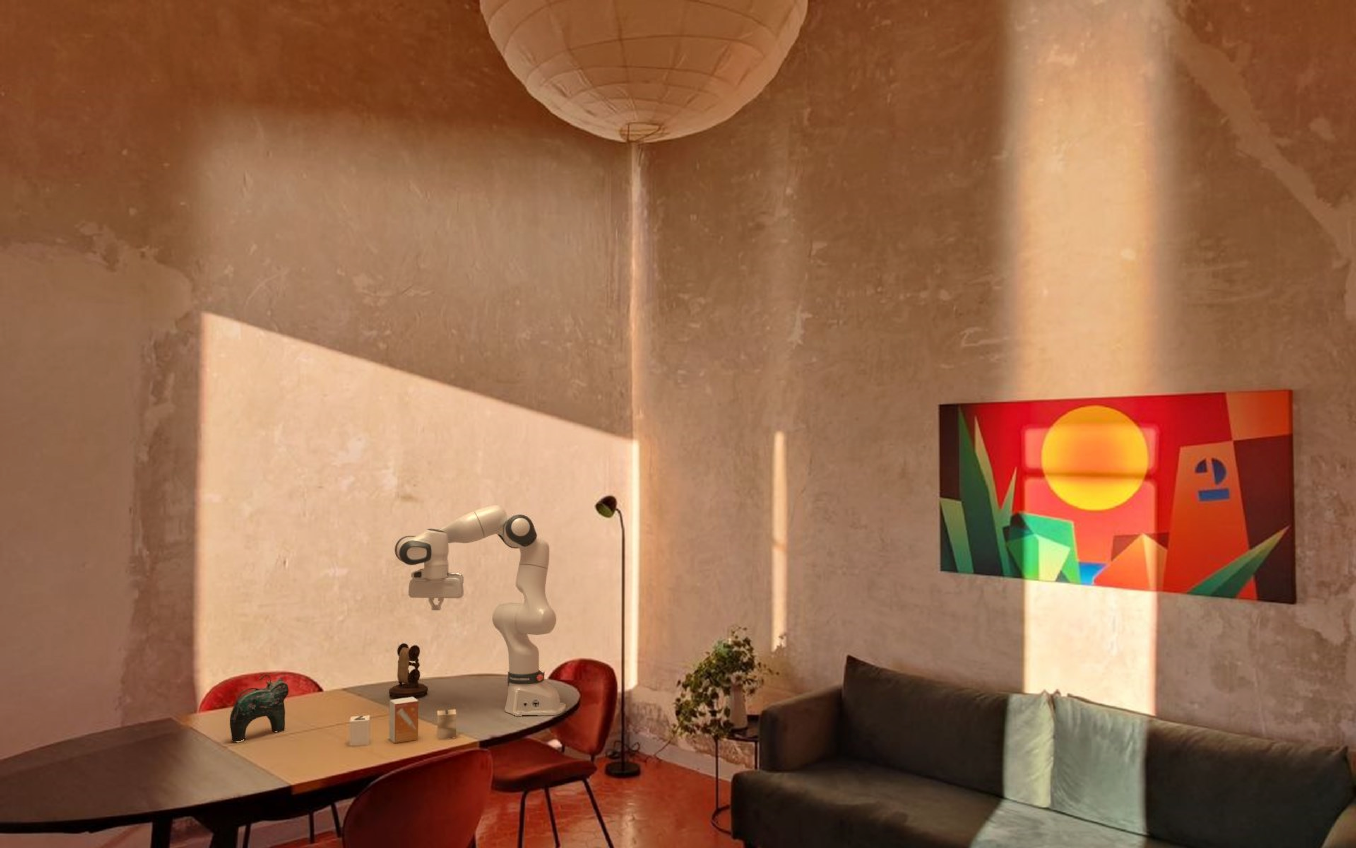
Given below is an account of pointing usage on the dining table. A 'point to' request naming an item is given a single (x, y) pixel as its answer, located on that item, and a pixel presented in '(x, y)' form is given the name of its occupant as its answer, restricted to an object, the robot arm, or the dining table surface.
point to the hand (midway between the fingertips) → (436, 610)
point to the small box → (403, 719)
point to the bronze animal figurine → (259, 708)
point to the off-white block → (359, 730)
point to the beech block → (446, 724)
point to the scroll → (403, 675)
